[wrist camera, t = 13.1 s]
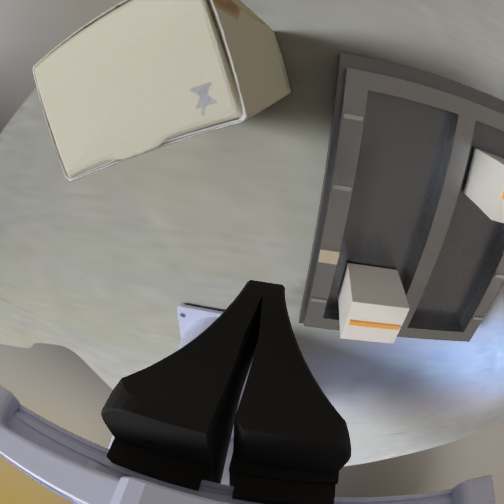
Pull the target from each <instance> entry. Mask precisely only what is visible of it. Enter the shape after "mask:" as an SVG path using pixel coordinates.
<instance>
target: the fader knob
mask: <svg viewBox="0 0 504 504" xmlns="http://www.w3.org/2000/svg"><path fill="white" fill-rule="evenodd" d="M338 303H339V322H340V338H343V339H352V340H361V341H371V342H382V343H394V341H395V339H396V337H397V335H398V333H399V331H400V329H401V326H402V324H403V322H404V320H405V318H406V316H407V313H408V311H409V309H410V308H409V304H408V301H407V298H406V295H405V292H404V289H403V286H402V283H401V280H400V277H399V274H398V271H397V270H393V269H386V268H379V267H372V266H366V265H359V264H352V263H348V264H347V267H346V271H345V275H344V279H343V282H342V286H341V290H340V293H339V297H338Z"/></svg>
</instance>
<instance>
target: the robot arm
mask: <svg viewBox="0 0 504 504" xmlns="http://www.w3.org/2000/svg"><path fill="white" fill-rule="evenodd" d="M177 311H178V319H179V327H180V335H181V341H180V344H179V346H178V348H177V350H176V352H175V353H173V354H171V355H170V356H168V357H166V358H164V359H163V360H161V361H159V362H157V363H155V364H153V365H152V366H150V367H148V368H145V369H143V370H141V371H138V372H136V373H134V374H131V375H129V376H127V377H124V378H122V379H121V380H120V381H119V383H118V384H117V386H116V387H115V388H114V390H113V391H112V393H111V394H110V396H109V398H108V400H107V402H106V404H105V406H104V407H103V409H102V412H101V415H102V418H103V420H104V422H105V424H106V425H107V427H108V428H109V430H110V431H111V433H112V434H113V436H112V439H111V442H110V444H109V447H108V449H107V448H104V447H102V446H100V445H98V444H95V443H93V442H91V441H88V440H86V439H84V438H82V437H80V436H78V435H76V434H74V433H72V432H70V431H68V430H66V429H64V428H62V427H60V426H58V425H56V424H54V423H52V422H50V421H48V420H47V419H45V418H43V417H41V416H39V415H38V414H36V413H34V412H32V411H31V410H29V409H27V408H26V407H24V406H22V405H21V404H20V402H19V401H18V399H16V397H15V396H14V395H13V394H12V393H11V392H10V391H8V390H7V389H5V388H4V387H3V386H1V385H0V455H1V456H2V457H3V458H4V459H6V460H7V461H8V462H10V463H11V464H13V465H14V466H15V467H17V468H18V469H20V470H21V471H22V472H24V473H25V474H27V475H28V476H30V477H31V478H33V479H34V480H36V481H37V482H39V483H40V484H42V485H43V486H45V487H47V488H48V489H50V490H52V491H53V492H55V493H57V494H58V495H60V496H62V497H63V498H65V499H67V500H69V501H71V502H72V503H74V504H495V496H494V489H493V481H492V476H491V475H488V476H483V477H479V478H474V479H470V480H466V481H464V482H462V483H460V484H458V485H456V486H455V487H454V488H453V489H449V490H443V491H437V492H430V493H423V494H414V495H403V496H392V497H391V496H390V497H368V498H335V484H337V483H338V476H339V470H340V469H341V468H342V467H343V466H344V465H345V464H346V463H347V462H348V461H349V459H350V457H351V444H350V437H349V433H348V429H347V425H346V422H345V420H344V419H343V418H342V417H341V416H340V414H339V413H338V412H337V411H336V409H335V408H334V407H333V406H332V404H331V403H330V402H329V400H328V399H327V397H326V396H325V394H324V393H323V392H322V390H321V388H320V387H319V385H318V383H317V382H316V380H315V378H314V377H313V375H312V374H311V372H310V370H309V368H308V366H307V364H306V362H305V360H304V358H303V356H302V353H301V351H300V349H299V346H298V344H297V341H296V338H295V336H294V333H293V330H292V327H291V323H290V320H289V316H288V312H287V307H286V302H285V288H284V286H283V285H279V284H272V283H266V282H259V281H253V280H250V281H248V282H247V284H246V285H245V287H244V288H243V290H242V291H241V292H240V294H239V295H238V296H237V297H236V299H235V300H234V301H233V302H232V303H231V304H230V305H229V307H228V308H227V309H226V310H225V311H224V312H223V311H217V310H211V309H206V308H201V307H195V306H190V305H185V304H180V305H179V306H178V309H177ZM183 313H184V314H185V315H184V314H183Z"/></svg>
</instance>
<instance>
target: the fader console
mask: <svg viewBox="0 0 504 504" xmlns="http://www.w3.org/2000/svg"><path fill="white" fill-rule="evenodd" d="M474 148H477V149H480V150H483V151H486V152H489V153H492V154H494V155H497V156H500V157H502V158H504V101H502V100H499V99H497V98H495V97H492V96H490V95H488V94H485V93H483V92H481V91H478V90H476V89H473V88H470V87H468V86H465V85H462V84H460V83H457V82H454V81H451V80H448V79H445V78H442V77H439V76H436V75H433V74H430V73H427V72H423V71H420V70H416V69H413V68H409V67H405V66H402V65H398V64H394V63H390V62H385V61H381V60H376V59H372V58H367V57H362V56H357V55H351V54H346V53H340V54H339V58H338V69H337V79H336V89H335V98H334V107H333V115H332V123H331V131H330V139H329V147H328V154H327V161H326V168H325V175H324V182H323V188H322V195H321V201H320V207H319V213H318V219H317V225H316V231H315V237H314V242H313V248H312V253H311V259H310V264H309V270H308V275H307V280H306V285H305V290H304V295H303V300H302V305H301V310H300V317H299V323H304V326H309V327H317V328H324V329H332V330H340V322H339V303H338V297H339V293H340V290H341V286H342V282H343V279H344V275H345V271H346V267H347V264H348V263H352V264H359V265H366V266H372V267H379V268H386V269H393V270H397V271H398V274H399V277H400V280H401V283H402V286H403V289H404V292H405V295H406V298H407V301H408V304H409V308H410V309H409V311H408V313H407V316H406V318H405V320H404V322H403V324H402V326H401V329H400V331H399V333H398V335H397V337H409V338H421V339H435V340H450V341H470V339H471V338H472V336H473V335H474V333H475V331H476V330H477V328H478V326H479V325H480V323H481V321H482V319H483V318H484V316H485V314H486V312H487V311H488V309H489V307H490V305H491V303H492V302H493V300H494V298H495V296H496V294H497V292H498V290H499V288H500V286H501V284H502V282H503V280H504V223H501V222H497V221H494V220H491V219H490V218H489V217H488V216H487V215H486V214H485V213H484V212H483V211H482V210H481V209H480V208H479V207H478V206H477V205H476V204H475V203H474V202H473V201H472V200H471V199H470V198H469V197H468V196H467V195H466V194H465V193H463V191H464V188H465V184H466V181H467V177H468V173H469V169H470V165H471V161H472V157H473V152H474Z"/></svg>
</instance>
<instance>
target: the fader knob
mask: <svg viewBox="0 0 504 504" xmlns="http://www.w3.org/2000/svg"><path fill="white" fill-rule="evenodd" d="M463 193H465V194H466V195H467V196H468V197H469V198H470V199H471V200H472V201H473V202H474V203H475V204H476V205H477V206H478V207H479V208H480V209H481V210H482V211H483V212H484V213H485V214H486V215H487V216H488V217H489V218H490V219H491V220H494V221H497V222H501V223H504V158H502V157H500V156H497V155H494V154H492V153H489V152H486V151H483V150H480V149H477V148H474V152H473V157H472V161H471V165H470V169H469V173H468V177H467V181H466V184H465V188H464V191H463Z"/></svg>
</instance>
